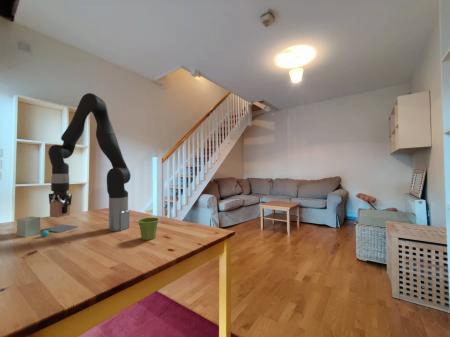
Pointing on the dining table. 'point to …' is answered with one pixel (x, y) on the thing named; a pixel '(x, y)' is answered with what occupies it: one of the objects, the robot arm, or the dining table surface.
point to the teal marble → (44, 233)
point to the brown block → (58, 209)
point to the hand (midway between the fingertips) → (59, 212)
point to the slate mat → (59, 228)
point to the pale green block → (28, 226)
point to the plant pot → (148, 227)
